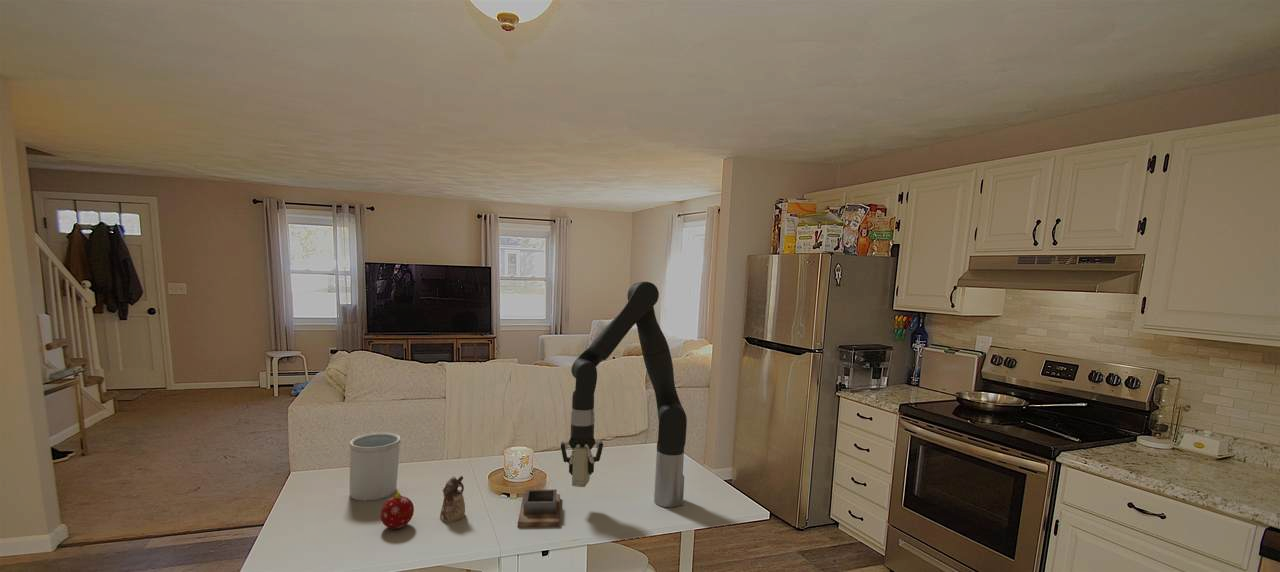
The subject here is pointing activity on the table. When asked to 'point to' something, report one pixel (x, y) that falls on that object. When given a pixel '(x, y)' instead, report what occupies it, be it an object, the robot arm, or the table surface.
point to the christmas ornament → (397, 512)
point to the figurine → (453, 501)
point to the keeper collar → (540, 502)
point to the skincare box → (580, 467)
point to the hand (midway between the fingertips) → (581, 473)
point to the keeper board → (539, 517)
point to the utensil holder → (374, 465)
